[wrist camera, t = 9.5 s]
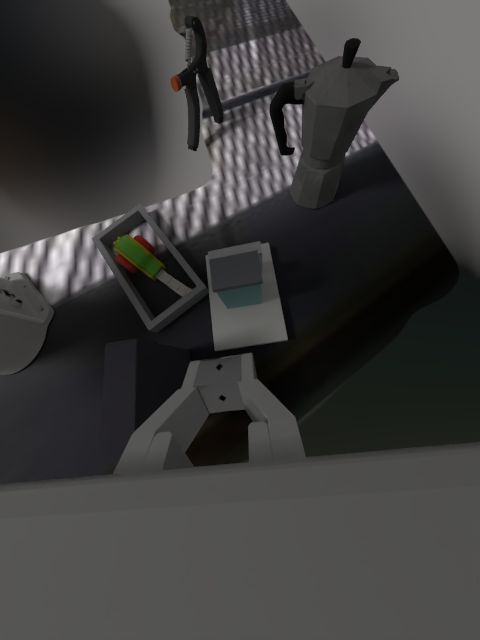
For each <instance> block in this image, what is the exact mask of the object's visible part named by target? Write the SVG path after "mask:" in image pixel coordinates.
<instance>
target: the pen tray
mask: <svg viewBox="0 0 480 640" xmlns="http://www.w3.org/2000/svg"><path fill="white" fill-rule="evenodd" d="M144 220H146V221H147V222H148V224H149V225H150V226H151V227H152V229H153V230H154V231H155V233H156V234H157V235H158V237H159V238H160V239H161V240H162V242H163V243H164V244H165V246H166V247H167V248H168V249H169V251H170V252H171V253H172V255H173V256H174V257H175V259H176V260H177V261H178V262H179V264H180V265H181V266H182V268H183V269H184V270H185V271H186V273H187V274H188V275H189V277H190V278H191V279H192V281H193V282H194V283H195V284H196V287H195V288H194V289H192V290H191V291H190V292H189V293H187V294H186V295H185V296H183V297H182V298H181V299H179V300H178V301H177V302H176V303H174V304H173V305H172V306H170V307H169V308H168V309H166V310H165V311H164V312H162V313H161V314H160V315H159V316H157V317H156V318H155V317H154V316H153V314H152V312H151V311H150V309H149V308H148V306H147V305H146V303H145V302H144V300H143V299H142V297H141V295H140V294H139V292H138V291H137V289H136V288H135V286H134V285H133V283H132V281H131V280H130V278H129V277H128V275H127V274H126V272H125V271H124V269H123V268H122V266H121V264H120V263H119V262H117V261H116V257H115V255H114V254H113V252H112V250H111V249H110V247H109V246H110V245H111V244H113V242H114V241H117V240H118V237H122V236H124V235H125V234H126V233H128V232H129V231H130V230H132V229H133V228H134V227H136V226H137V225H138V224H140V223H141V222H143V221H144ZM92 239H93V241H94V243H95V244H96V246H97V248H98V249H99V251H100V252H101V254H102V256H103V257H104V259H105V261H106V262H107V264H108V265H109V267H110V269H111V270H112V272H113V273H114V275H115V277H116V278H117V280H118V282H119V283H120V285H121V286H122V288H123V290H124V291H125V293H126V295H127V296H128V298H129V299H130V301H131V303H132V304H133V306H134V307H135V309H136V311H137V312H138V314H139V316H140V317H141V319H142V320H143V322H144V324H145V325H146V327H147V328H148V330H149V331H151V332H155V333H158V332H159V331H160V330H162V329H163V328H164V327H166V326H167V325H168V324H170V323H171V322H172V321H173V320H175V319H176V318H177V317H179V316H180V315H181V314H183V313H184V312H185V311H186V310H188V309H189V308H190V307H192V306H193V305H194V304H195V303H197V302H198V301H199V300H201V299H202V298H203V297H205V296H206V295H207V294H208V293H209V290H208V289H207V287H206V286H205V285H204V284H203V282H202V281H201V280H200V279H199V277H198V276H197V275H196V273H195V272H194V271H193V270H192V268H191V267H190V266H189V265H188V263H187V262H186V261H185V260H184V258H183V257H182V256H181V254H180V253H179V252H178V251H177V249H176V248H175V247H174V246H173V244H172V243H171V242H170V241H169V239H168V238H167V237H166V235H165V234H164V233H163V232H162V230H161V229H160V228H159V227H158V225H157V224H156V223H155V222H154V220H153V219H152V218H151V217H150V215H149V214H148V213H147V211H146V210H145V209H144V208H143V206H142V205H141V204H139V205H137V206H136V207H135V208H133V209H132V210H131V211H129V212H128V213H126V214H125V215H124V216H122V217H121V218H120V219H118V220H117V221H115V222H114V223H113V224H111V225H110V226H109V227H107V228H106V229H105V230H103V231H102V232H100V233H99V234H98V235H96V236H95V237H94V238H92Z"/></svg>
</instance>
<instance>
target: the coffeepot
mask: <svg viewBox="0 0 480 640" xmlns="http://www.w3.org/2000/svg"><path fill="white" fill-rule="evenodd" d="M360 43H361V41H360V40H359V39H356V38H352V39H349V40H347V41H346V43H345V45H344V53H343V57H341V56H338V57H336V58H334V59H331V60H329V61H327V62H325V63H323V64H321V65H319V66H316V67H314V68H312V70H311V72H310V74H309V76H308V78H305V79H300V80H295V82H290V83H284V84H283V85H281V87H280V88H279V90H278V92H277V93H276V95H275V96H274V98H273V100H272V101H271V104H270V117H271V120H272V123H273V127H274V131H275V135H276V138H277V142H278V146H279V150H280V153H281V155H292V154H293V152H294V150H295V147H293V148H290V147H287V145H286V144H287V134H286V131H285V129H284V115H283V112H282V108H283V106H284V105H285V104H303V108H302V143H301V145H302V147H303V152H302V155H301V157H300V160H299V163H298V167H297V170H296V173H295V176H294V179H293V182H292V185H291V189H290V194H291V196H292V198H293V200H294V202H295V203H296V204H297V205H299V206H301V207H304V208H308V209H317V208H321V207H324V206H325V205H327V204H329V203H330V202H332V201H333V199H334V197H335V194H336V192H337V189H338V186H339V181H340V177H341V172H342V167H343V163H344V158H345V153H346V152H347V151H348V149H349V147H350V145H351V143H352V141H353V140H354V138H355V136H356V134H357V132H358V130H359V128H360V126H361V124H362V122H363V120H364V118H365V116H366V115H367V112H368V111H369V110H370V109H371V108H372V106H373V105H374V104H375V103H376V102H377V101H378V99H379V98H380V97H381V96H382V95H383V94H384V93H385V92H386V90H387V89H388V88H389V87H390V86H391V85H392V84H393V83H395V82H396V81H398V80H399V77H398V72H397V71H396V70H395V69H391V67H384V66H376V65H375V64H374V63H373V62H372V61H371V60H370V59H369V58H362V57H355V55H356V52H357V50H358V47H359V45H360Z"/></svg>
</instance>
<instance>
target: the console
mask: <svg viewBox="0 0 480 640" xmlns="http://www.w3.org/2000/svg"><path fill="white" fill-rule="evenodd" d="M255 250H257V251H258V257H259V263H260V268H261V274H262V279H263V284H261V290H262V303H260V304H254V305H248V306H242V307H236V308H230V309H227V307H226V306H225V305H224V303H223V302H222V300H221V299H220V297H219V296H218V294H217V293H216V292H215V293H214V292H213V291H212V283H211V273H210V263H209V260H210V259H215V258H220V257H225V256H230V255H235V254H240V253H245V252H250V251H255ZM205 256H206V266H207V277H208V287H209V297H210V308H211V318H212V329H213V339H214V350H215V351H222V350H228V349H235V348H242V347H249V346H256V345H262V344H269V343H276V342H283V341H287V340H288V338H287V333H286V328H285V322H284V317H283V312H282V307H281V302H280V297H279V292H278V287H277V282H276V277H275V272H274V267H273V262H272V257H271V252H270V247H269V243H265V244H260V241H258V242H253V243H248V244H243V245H238V246H233V247H228V248H223V249H218V250H214V251H209V252H208V255H205Z"/></svg>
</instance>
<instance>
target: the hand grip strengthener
mask: <svg viewBox="0 0 480 640" xmlns="http://www.w3.org/2000/svg"><path fill="white" fill-rule="evenodd" d="M185 25H186V27H189V28H191V30H190V29H187V30H186V48H185V49H186V51H185V53H186V54H185V60H186V61H187V62H188V64H187V68H186V69H185V70H183V71H182V72H181V73H180V74H178V75H176V76H174V77H172V78H171V86H172V88H173V89H174V91H176V92H177V91H179V90H180V89H181V88H182V87H183V86H186V89H185V93H186V98H187V103H188V141H187V144H188V145H189V146H188V148H189V149H191V150H194V151H196V150H197V148H198V145H199V133H200V105H199V98H198V93H197V86H196V74H197V73H198V77H199V80H200V82H201V85H202V88H203V90H204V93H205V96H206V98H207V101H208V104H209V107H210V110H211V114H212V116H213V117H214V121H215V122H216V123H219V124H220V123H221V121H222V120H223V114H224V113H223V109H222V105H221V101H220V98H219V94H218V91H217V88H216V84H215V81H214V78H213V75H212V72H211V69H210V68H208V67H207V62H206V52H207V43H206V37H205V32H204V29H203V26H202V23H201V22H200V20H199V18H198V17H193V16H187V17H185ZM192 29H193V31H194V34H195V39H196V54H195V58H194V60H193V62H192V63H191V61H189V60H191V58H190V57H191V50H192V49H191V48H190V47H192V45H191V44H192V38H191V37H192V34H191V32H192ZM189 36H190V37H189ZM189 43H190V44H189ZM188 46H189V47H188ZM189 50H190V51H189ZM189 64H190V65H189Z"/></svg>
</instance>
